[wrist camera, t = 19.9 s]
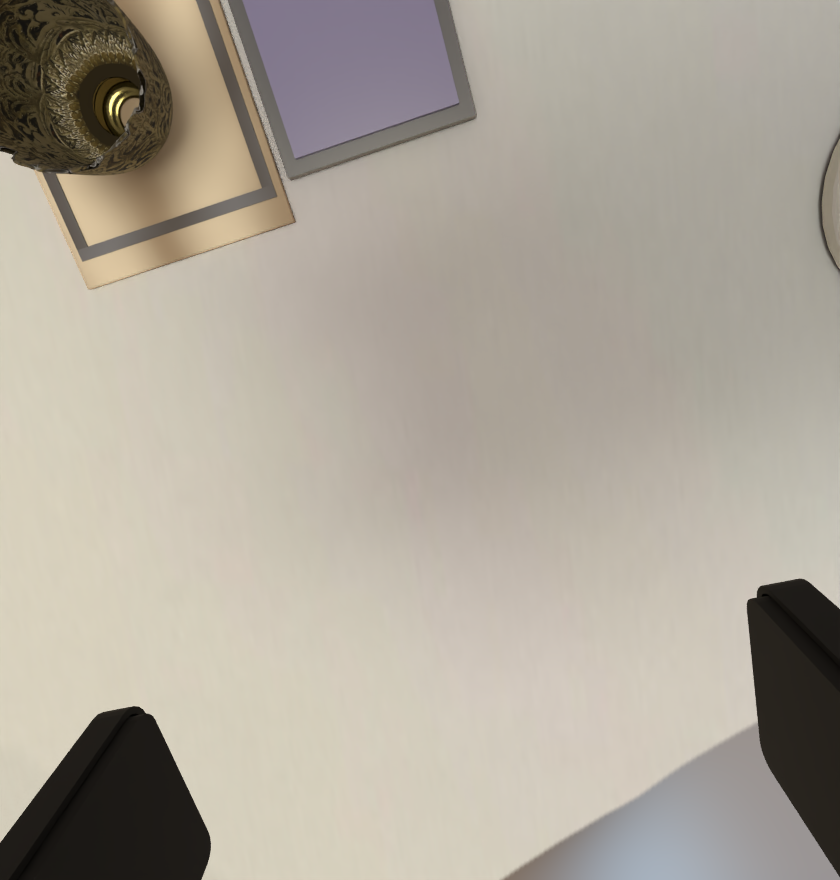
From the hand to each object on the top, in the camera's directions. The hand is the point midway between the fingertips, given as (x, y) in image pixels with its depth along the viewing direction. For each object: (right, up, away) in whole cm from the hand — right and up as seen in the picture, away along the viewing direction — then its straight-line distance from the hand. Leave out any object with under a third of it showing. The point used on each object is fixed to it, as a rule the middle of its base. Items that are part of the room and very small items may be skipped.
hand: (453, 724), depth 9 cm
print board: (-15, +21, +21) cm, 33 cm away
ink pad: (-4, +24, +19) cm, 31 cm away
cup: (-15, +21, +20) cm, 33 cm away
